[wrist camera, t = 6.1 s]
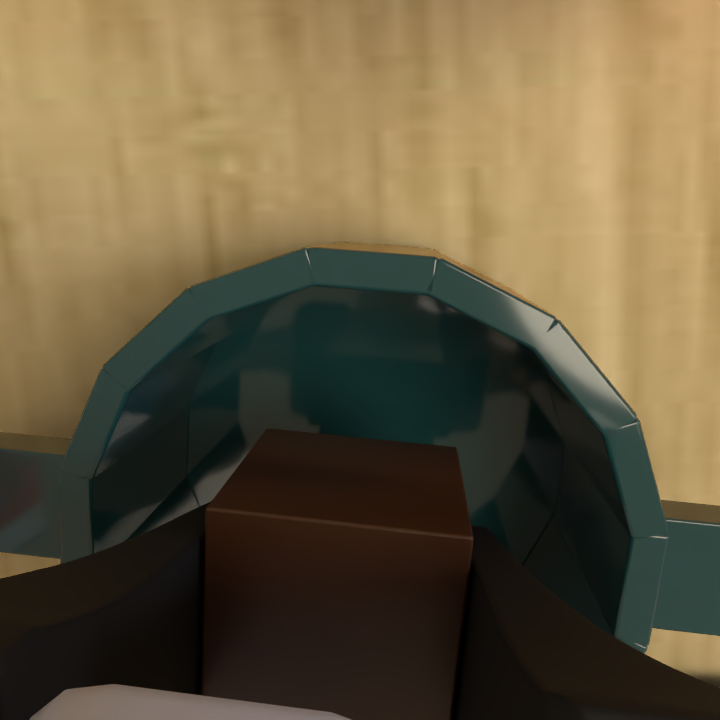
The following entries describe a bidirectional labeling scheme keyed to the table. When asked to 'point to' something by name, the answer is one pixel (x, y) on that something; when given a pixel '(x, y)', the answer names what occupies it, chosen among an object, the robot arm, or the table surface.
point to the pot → (378, 425)
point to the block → (338, 577)
